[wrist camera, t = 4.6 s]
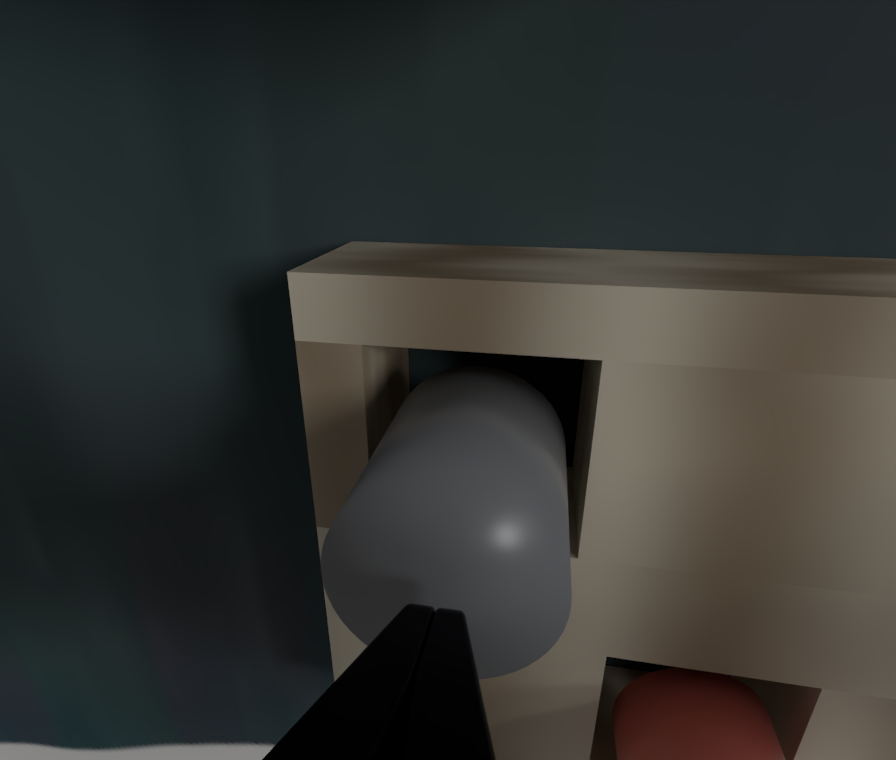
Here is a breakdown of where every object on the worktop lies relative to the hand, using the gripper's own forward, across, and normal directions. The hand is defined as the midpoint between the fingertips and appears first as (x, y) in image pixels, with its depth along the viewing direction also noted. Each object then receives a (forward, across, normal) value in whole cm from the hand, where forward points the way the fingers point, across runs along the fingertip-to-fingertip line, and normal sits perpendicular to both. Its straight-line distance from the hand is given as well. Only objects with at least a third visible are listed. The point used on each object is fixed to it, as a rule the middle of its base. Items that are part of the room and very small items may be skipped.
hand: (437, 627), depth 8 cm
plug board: (+9, -6, +4) cm, 11 cm away
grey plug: (+5, 0, 0) cm, 5 cm away
